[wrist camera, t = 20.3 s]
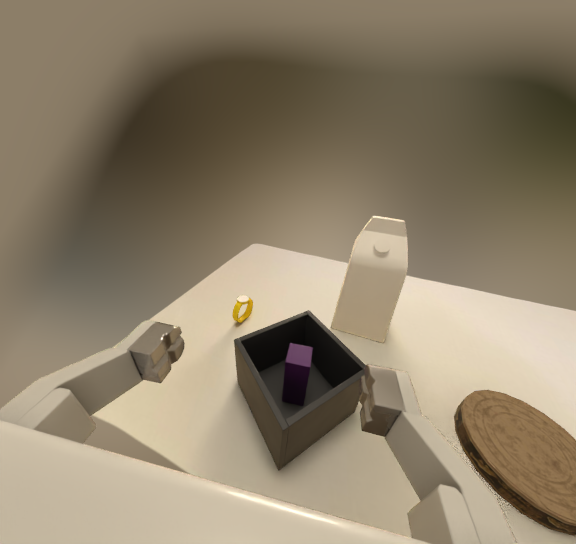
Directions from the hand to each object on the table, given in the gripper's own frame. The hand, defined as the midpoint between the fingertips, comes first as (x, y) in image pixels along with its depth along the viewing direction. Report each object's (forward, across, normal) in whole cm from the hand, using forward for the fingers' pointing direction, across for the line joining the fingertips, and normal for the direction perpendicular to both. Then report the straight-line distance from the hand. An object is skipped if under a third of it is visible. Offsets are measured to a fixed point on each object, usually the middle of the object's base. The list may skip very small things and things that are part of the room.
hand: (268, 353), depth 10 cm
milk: (+39, +14, -30) cm, 51 cm away
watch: (+32, -14, -30) cm, 46 cm away
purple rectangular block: (+16, +1, -29) cm, 33 cm away
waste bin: (+16, +1, -30) cm, 34 cm away
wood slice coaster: (+14, +35, -30) cm, 48 cm away
